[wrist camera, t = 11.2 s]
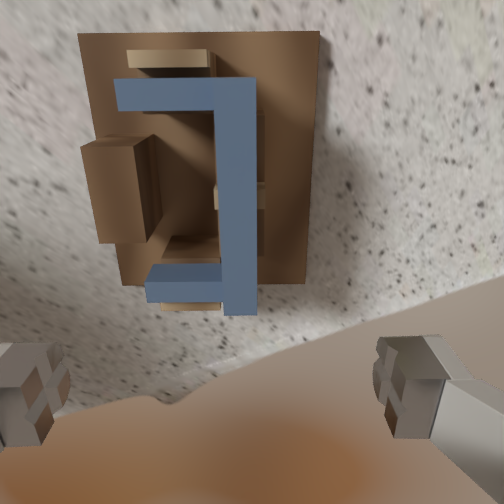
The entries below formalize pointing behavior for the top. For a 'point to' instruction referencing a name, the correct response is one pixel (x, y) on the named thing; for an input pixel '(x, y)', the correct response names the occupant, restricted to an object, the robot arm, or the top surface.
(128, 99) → the blue stepped bracket
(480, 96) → the top surface
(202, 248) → the stand
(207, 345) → the top surface
